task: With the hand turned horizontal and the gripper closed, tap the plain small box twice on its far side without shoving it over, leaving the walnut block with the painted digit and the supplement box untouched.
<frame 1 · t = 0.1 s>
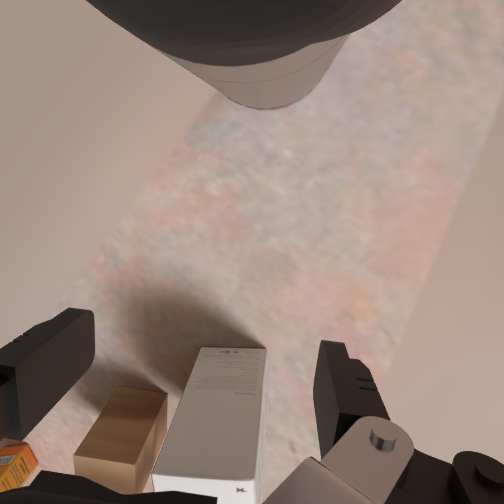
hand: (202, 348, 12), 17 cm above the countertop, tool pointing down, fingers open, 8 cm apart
supplement box: (24, 453, 40), on the countertop
small box: (235, 380, 34), on the countertop
walnut digit block: (143, 409, 36), on the countertop
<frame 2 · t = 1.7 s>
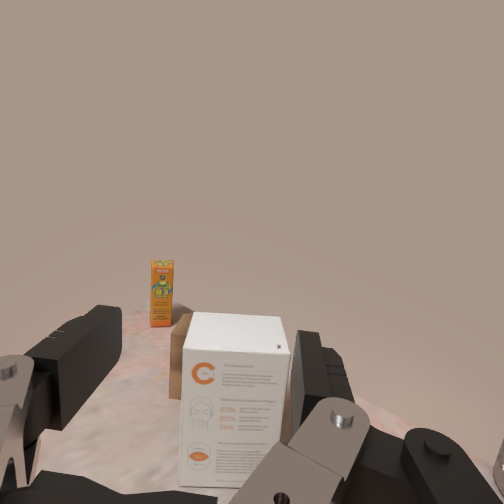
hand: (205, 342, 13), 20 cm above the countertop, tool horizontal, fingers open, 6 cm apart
supplement box: (160, 324, 55), on the countertop
small box: (226, 459, 32), on the countertop
walnut digit block: (196, 387, 41), on the countertop
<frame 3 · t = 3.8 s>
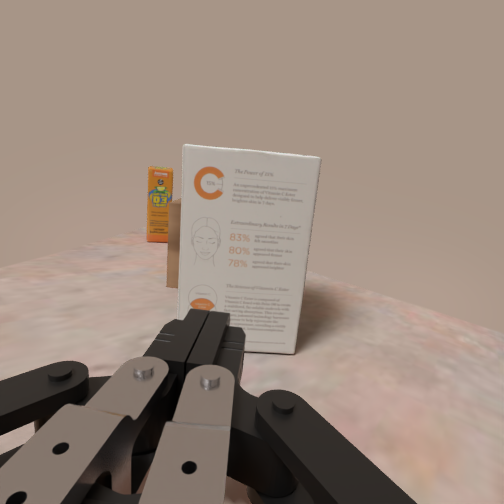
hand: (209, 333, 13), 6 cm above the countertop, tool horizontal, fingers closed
supplement box: (158, 241, 49), on the countertop
small box: (235, 332, 26), on the countertop
walnut digit block: (198, 281, 35), on the countertop
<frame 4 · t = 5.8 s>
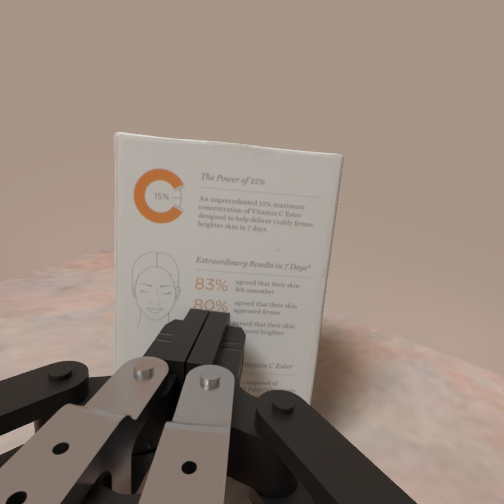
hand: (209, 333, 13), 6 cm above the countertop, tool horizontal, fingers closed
small box: (213, 418, 18), on the countertop, touching gripper
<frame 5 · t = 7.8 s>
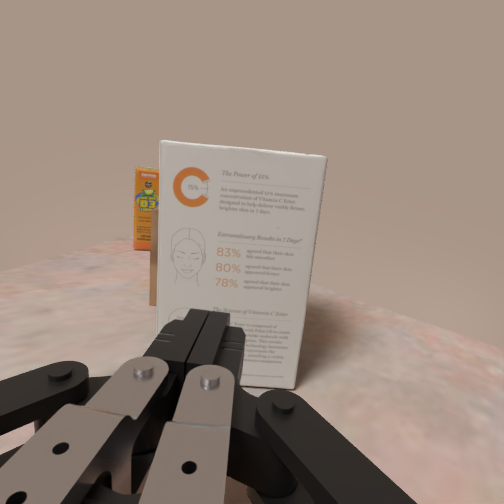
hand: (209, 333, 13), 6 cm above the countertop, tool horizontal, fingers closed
supplement box: (147, 249, 45), on the countertop
small box: (227, 358, 23), on the countertop
walnut digit block: (187, 297, 31), on the countertop
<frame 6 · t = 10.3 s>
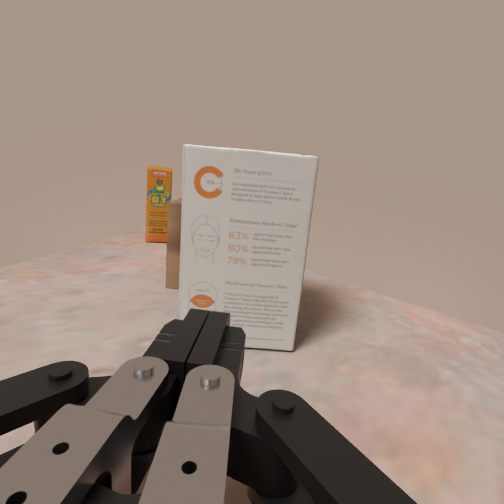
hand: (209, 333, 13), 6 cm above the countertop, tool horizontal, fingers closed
supplement box: (157, 241, 49), on the countertop
small box: (236, 329, 27), on the countertop
walnut digit block: (198, 282, 35), on the countertop
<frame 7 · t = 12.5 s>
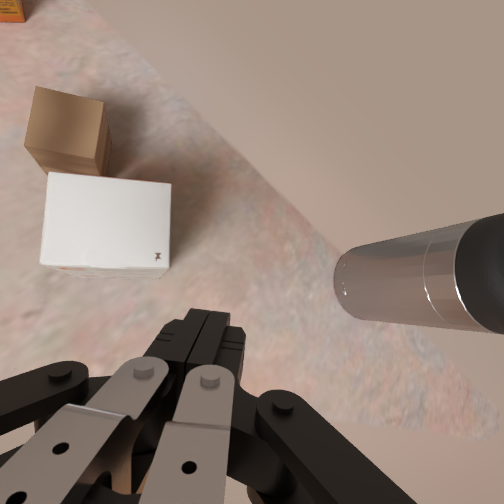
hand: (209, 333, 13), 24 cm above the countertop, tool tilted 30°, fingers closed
supplement box: (6, 11, 35), on the countertop
small box: (121, 247, 36), on the countertop
walnut digit block: (81, 160, 35), on the countertop
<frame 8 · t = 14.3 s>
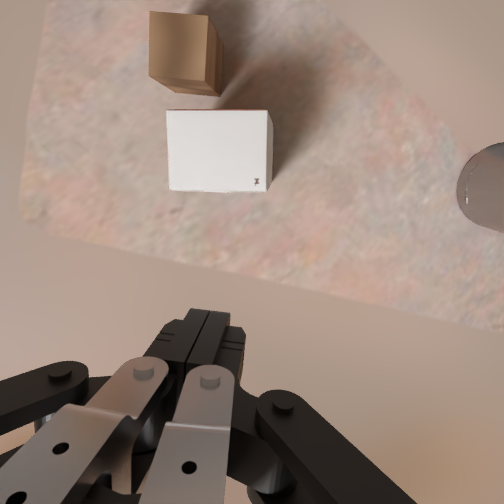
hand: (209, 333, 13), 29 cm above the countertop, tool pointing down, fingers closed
small box: (238, 154, 40), on the countertop
walnut digit block: (198, 69, 38), on the countertop
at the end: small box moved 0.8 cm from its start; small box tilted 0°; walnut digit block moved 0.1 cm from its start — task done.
